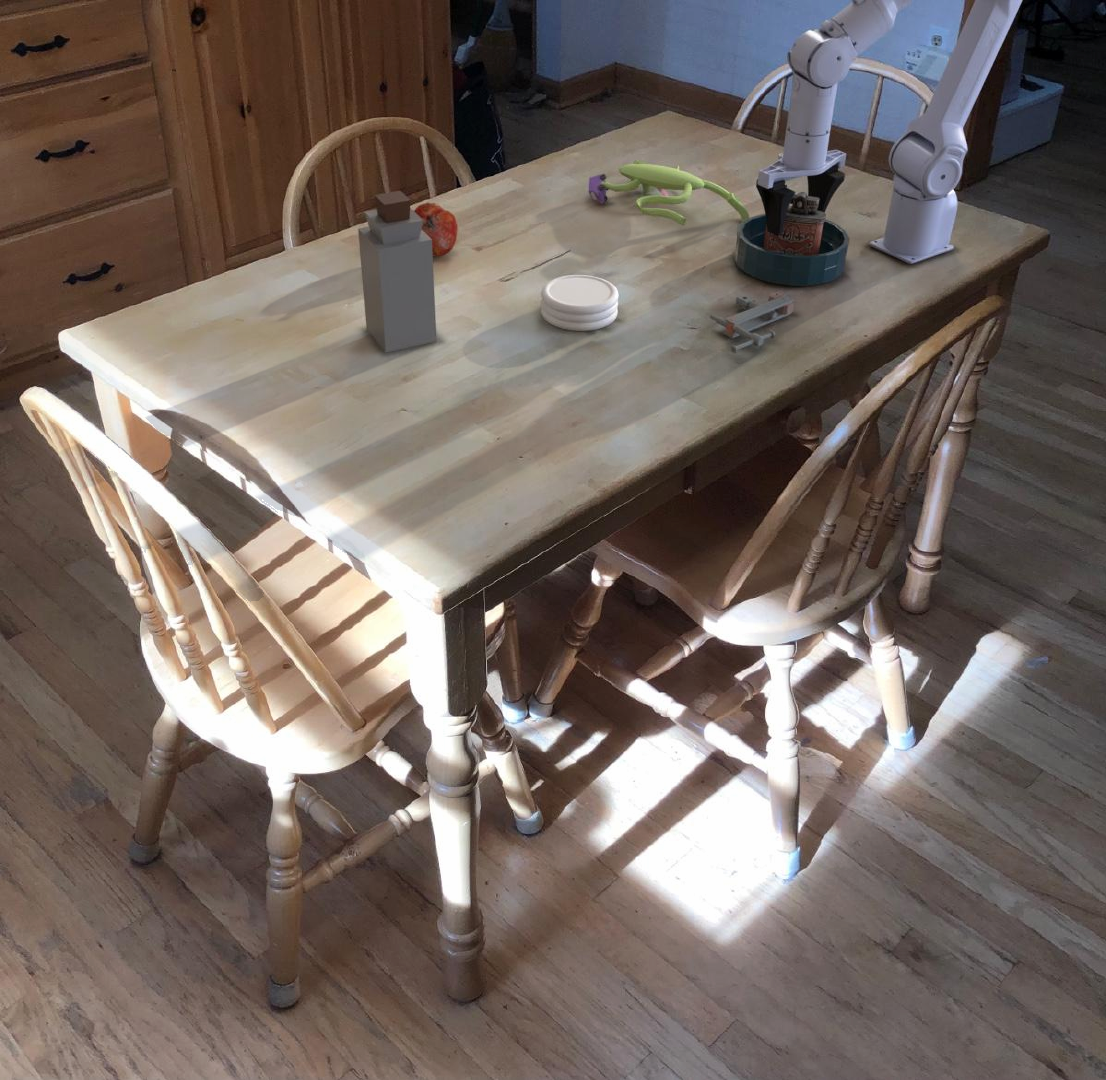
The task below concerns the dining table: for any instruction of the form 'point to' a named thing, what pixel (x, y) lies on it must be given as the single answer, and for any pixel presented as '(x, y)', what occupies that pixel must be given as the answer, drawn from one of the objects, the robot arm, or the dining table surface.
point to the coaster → (579, 302)
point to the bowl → (790, 256)
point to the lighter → (798, 228)
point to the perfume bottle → (397, 275)
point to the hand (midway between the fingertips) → (793, 227)
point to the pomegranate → (438, 227)
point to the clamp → (768, 311)
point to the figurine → (660, 188)
